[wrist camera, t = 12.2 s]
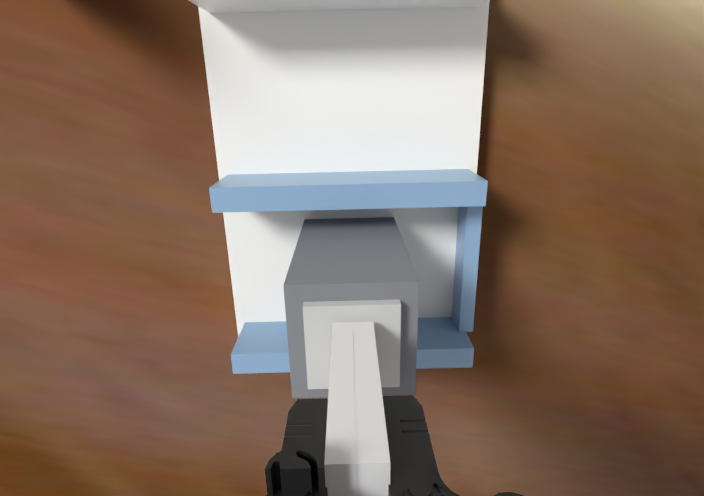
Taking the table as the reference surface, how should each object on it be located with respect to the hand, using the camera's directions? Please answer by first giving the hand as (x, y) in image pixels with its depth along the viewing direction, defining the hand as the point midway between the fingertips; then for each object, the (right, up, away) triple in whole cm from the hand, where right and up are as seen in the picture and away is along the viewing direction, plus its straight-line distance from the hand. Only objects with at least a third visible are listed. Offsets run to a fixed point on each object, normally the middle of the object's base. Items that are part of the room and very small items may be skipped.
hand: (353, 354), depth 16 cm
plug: (0, +3, +9) cm, 10 cm away
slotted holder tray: (0, +12, +7) cm, 14 cm away
